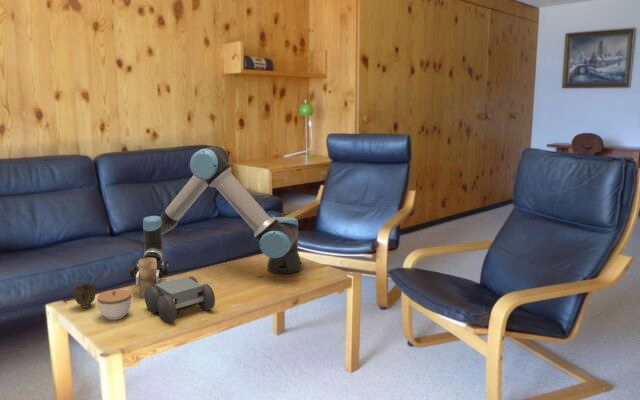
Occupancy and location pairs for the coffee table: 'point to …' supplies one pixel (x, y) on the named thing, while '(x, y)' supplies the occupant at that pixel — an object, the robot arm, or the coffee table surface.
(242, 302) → the coffee table surface
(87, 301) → the dark brown textured bowl
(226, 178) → the robot arm
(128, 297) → the lidded jar
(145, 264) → the tan wooden cylinder
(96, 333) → the coffee table surface
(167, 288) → the trolley
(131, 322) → the coffee table surface
